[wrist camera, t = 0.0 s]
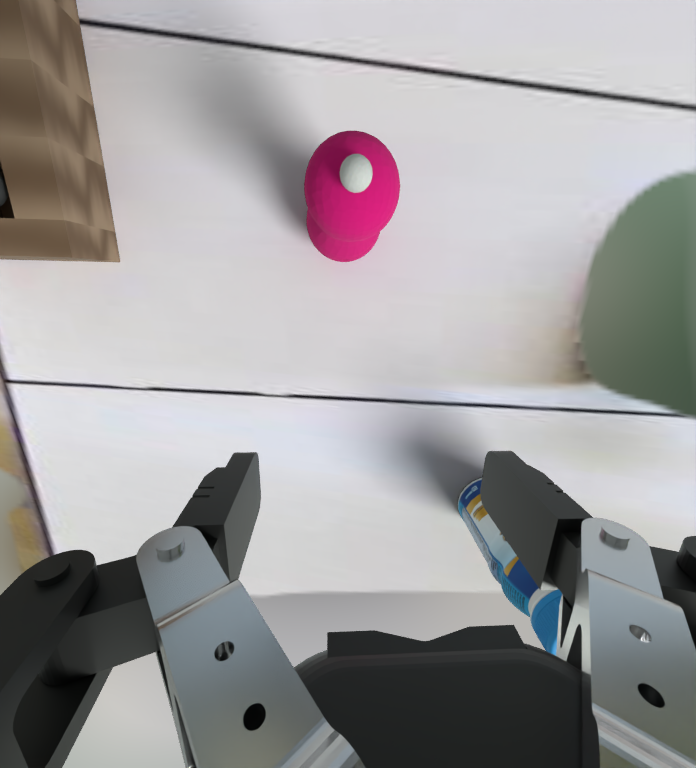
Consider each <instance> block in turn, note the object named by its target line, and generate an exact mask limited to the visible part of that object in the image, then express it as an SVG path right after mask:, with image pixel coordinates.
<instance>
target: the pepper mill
mask: <svg viewBox="0 0 696 768" xmlns="http://www.w3.org/2000/svg"><path fill="white" fill-rule="evenodd" d="M304 190H305V198H306V204H307V206H308V211H307V229H308V233H309V236H310V239H311V241H312V242H313V244H314V246H315V247H316V248H317V249H318V251H319V252H320V253H322V254H323V255H324V256H326V257H328V258H329V259H332V260H335V261H340V262H349V261H354V260H357V259H359V258H361V257H363V256H364V255H365V254H367V253H368V252H369V251H370V250H371V249H372V247H373V246H374V244H375V243H376V241H377V239H378V236H379V234H380V231H381V230H382V229H383V228H384V227H385V226H386V225H387V223H388V222H389V220H390V219H391V217H392V215H393V213H394V211H395V209H396V206H397V203H398V199H399V191H400V181H399V173H398V169H397V166H396V162H395V160H394V158H393V156H392V155H391V153H390V151H389V150H388V149H387V147H386V146H385V145H384V144H383V143H382V142H381V141H380V140H378V139H377V138H376V137H374V136H372V135H369V134H367V133H364V132H359V131H344V132H340V133H337V134H335V135H333V136H331V137H329V138H328V139H327V140H325V141H324V142H323V143H322V144H320V146H319V147H318V148H317V149H316V151H315V152H314V154H313V155H312V157H311V159H310V161H309V164H308V167H307V170H306V175H305V183H304Z"/></svg>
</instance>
